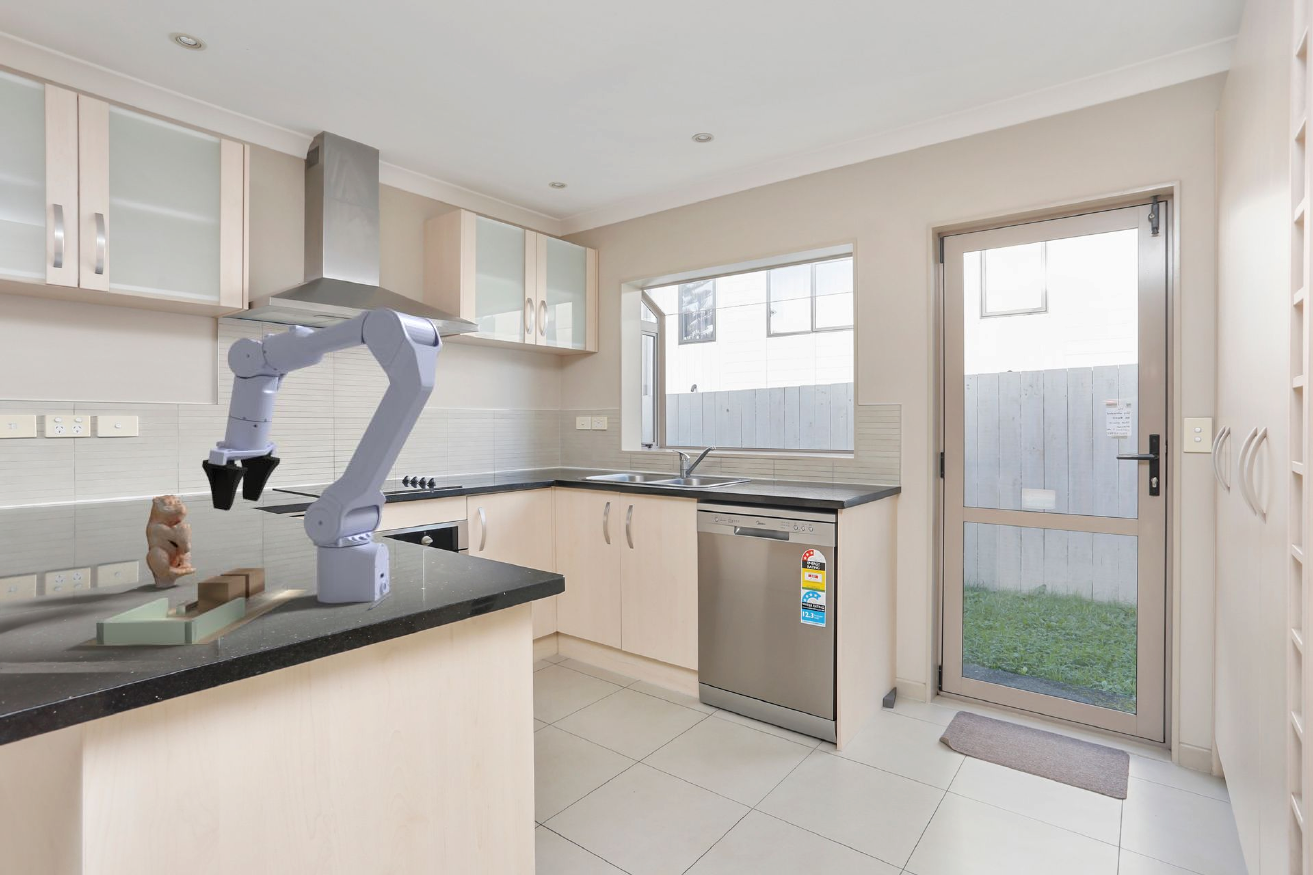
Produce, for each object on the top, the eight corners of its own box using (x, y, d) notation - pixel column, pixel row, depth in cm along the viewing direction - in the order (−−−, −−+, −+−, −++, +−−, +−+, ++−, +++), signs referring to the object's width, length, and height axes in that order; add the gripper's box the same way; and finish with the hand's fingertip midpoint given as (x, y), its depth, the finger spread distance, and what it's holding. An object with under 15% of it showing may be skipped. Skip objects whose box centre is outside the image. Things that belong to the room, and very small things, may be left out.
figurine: (173, 596, 100) (172, 498, 100) (132, 594, 102) (131, 497, 102) (208, 587, 106) (207, 494, 106) (169, 584, 108) (168, 493, 108)
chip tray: (245, 616, 87) (245, 597, 87) (191, 643, 76) (191, 621, 76) (162, 617, 87) (161, 598, 87) (96, 644, 76) (96, 622, 76)
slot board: (308, 595, 101) (308, 589, 101) (206, 652, 76) (206, 643, 76) (214, 596, 101) (214, 590, 101) (79, 653, 76) (79, 645, 76)
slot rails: (290, 589, 101) (290, 581, 101) (241, 614, 88) (240, 605, 88) (233, 589, 101) (233, 582, 101) (176, 614, 88) (175, 605, 88)
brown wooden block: (264, 594, 98) (264, 567, 98) (249, 602, 94) (249, 574, 94) (237, 595, 98) (236, 568, 98) (220, 602, 94) (220, 574, 94)
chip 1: (245, 603, 93) (245, 575, 93) (228, 612, 89) (228, 582, 89) (216, 604, 93) (215, 575, 93) (197, 612, 89) (197, 582, 89)
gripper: (250, 411, 108) (237, 491, 109) (192, 415, 94) (178, 508, 95) (294, 419, 109) (280, 499, 110) (243, 425, 94) (228, 517, 95)
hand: (236, 504), depth 102 cm, fingers open, 7 cm apart
